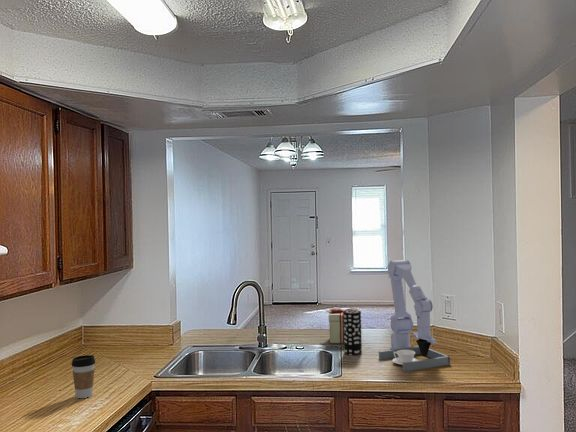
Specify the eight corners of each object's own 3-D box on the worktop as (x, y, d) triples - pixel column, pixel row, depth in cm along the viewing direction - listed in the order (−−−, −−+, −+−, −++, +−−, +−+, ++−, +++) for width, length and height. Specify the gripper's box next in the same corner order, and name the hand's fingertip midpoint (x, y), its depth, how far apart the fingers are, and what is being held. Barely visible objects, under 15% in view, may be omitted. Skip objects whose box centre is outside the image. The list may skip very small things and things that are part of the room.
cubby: (378, 359, 228) (378, 351, 228) (421, 353, 237) (421, 345, 237) (404, 371, 209) (404, 363, 209) (450, 364, 217) (450, 356, 217)
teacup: (394, 359, 228) (394, 347, 228) (421, 361, 224) (421, 349, 224) (390, 366, 217) (390, 354, 217) (418, 369, 212) (418, 356, 212)
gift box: (356, 335, 274) (356, 304, 274) (360, 344, 255) (359, 310, 255) (325, 335, 274) (325, 304, 274) (327, 344, 256) (326, 311, 256)
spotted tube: (363, 351, 241) (363, 310, 241) (358, 356, 233) (358, 313, 233) (347, 350, 244) (346, 309, 244) (342, 354, 237) (341, 312, 237)
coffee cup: (84, 401, 182) (83, 360, 182) (67, 398, 185) (66, 358, 185) (100, 393, 190) (100, 354, 190) (83, 391, 193) (83, 353, 193)
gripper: (406, 323, 230) (407, 353, 230) (426, 330, 217) (426, 361, 217) (419, 322, 233) (420, 351, 233) (439, 328, 219) (440, 359, 219)
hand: (424, 356), depth 225 cm, fingers closed
